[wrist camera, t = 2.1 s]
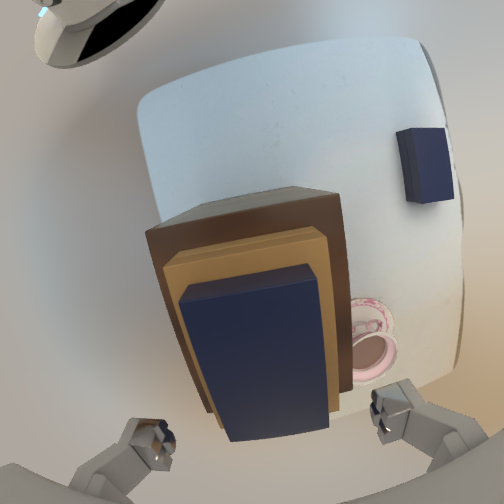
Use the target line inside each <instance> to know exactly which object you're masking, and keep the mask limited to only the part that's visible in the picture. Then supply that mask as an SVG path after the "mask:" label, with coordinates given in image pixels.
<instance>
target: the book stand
mask: <svg viewBox="0 0 504 504" xmlns="http://www.w3.org/2000/svg"><path fill="white" fill-rule="evenodd" d="M310 226H313V227H315V228H316V229H317V230H318V231H320V232H321V233H322V234H324V235H325V236H326V237H327V243H328V251H329V259H330V268H331V277H332V287H333V297H334V308H335V321H336V335H337V352H338V376H339V393H343V392H347V391H351V390H353V337H352V312H351V295H350V282H349V270H348V259H347V249H346V240H345V232H344V224H343V216H342V209H341V202H340V196H339V194H338V193H333V192H327V191H321V190H315V189H309V188H303V187H296V186H291V187H285V188H279V189H274V190H268V191H263V192H258V193H252V194H247V195H242V196H237V197H232V198H227V199H223V200H218V201H213V202H209V203H204V204H201V205H199V206H197V207H194V208H192V209H190V210H188V211H186V212H184V213H182V214H180V215H178V216H175V217H173V218H171V219H169V220H167V221H165V222H163V223H161V224H159V225H157V226H155V227H153V228H151V229H149V230H147V231H146V232H145V235H146V238H147V242H148V246H149V250H150V254H151V257H152V261H153V265H154V268H155V271H156V275H157V278H158V281H159V285H160V288H161V291H162V295H163V298H164V301H165V304H166V307H167V310H168V313H169V316H170V319H171V322H172V325H173V328H174V331H175V334H176V337H177V339H178V342H179V345H180V347H181V350H182V353H183V355H184V358H185V361H186V363H187V366H188V368H189V371H190V374H191V376H192V378H193V381H194V383H195V386H196V388H197V390H198V393H199V395H200V398H201V400H202V402H203V405H204V407H205V409H206V411H207V413H214V412H213V410H212V407H211V405H210V403H209V400H208V398H207V395H206V393H205V390H204V388H203V385H202V383H201V380H200V378H199V375H198V373H197V370H196V367H195V365H194V362H193V359H192V357H191V354H190V351H189V348H188V346H187V343H186V340H185V337H184V334H183V331H182V328H181V325H180V322H179V319H178V316H177V313H176V310H175V307H174V304H173V301H172V297H171V294H170V291H169V288H168V284H167V281H166V277H165V274H164V270H163V267H164V266H165V265H166V264H167V263H168V262H169V261H170V260H171V259H172V258H173V257H174V256H175V255H176V254H177V253H178V252H179V251H184V250H189V249H194V248H199V247H204V246H209V245H214V244H220V243H225V242H230V241H235V240H240V239H245V238H251V237H256V236H261V235H266V234H272V233H277V232H282V231H288V230H293V229H299V228H304V227H310Z"/></svg>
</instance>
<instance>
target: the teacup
mask: <svg viewBox="0 0 504 504" xmlns="http://www.w3.org/2000/svg"><path fill="white" fill-rule="evenodd" d="M351 312H352V337H353V385H356V386H363V385H368V384H371V383H373V382H375V381H377V380H379V379H380V378H381V377H383V376H384V375H385V374H386V373H387V372H388V371H389V369H390V368H391V367H392V365H393V364H394V362H395V360H396V357H397V354H398V343H397V340H396V339H395V337H394V336H393V331H394V322H393V317H392V315H391V313H390V311H389V309H388V308H387V307H386V306H385V305H383V304H382V303H381V302H380V301H377V300H373V299H370V298H362V299H354V300H351Z"/></svg>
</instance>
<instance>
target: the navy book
mask: <svg viewBox="0 0 504 504" xmlns="http://www.w3.org/2000/svg"><path fill="white" fill-rule="evenodd" d="M178 305H179V308H180V311H181V314H182V317H183V320H184V324H185V327H186V330H187V333H188V336H189V338H190V341H191V344H192V347H193V350H194V353H195V356H196V358H197V361H198V364H199V367H200V369H201V372H202V375H203V377H204V380H205V382H206V385H207V388H208V390H209V393H210V395H211V398H212V400H213V403H214V405H215V408H216V410H217V412H218V415H219V417H220V419H221V422H222V424H223V426H224V429H225V431H226V433H227V435H228V438H229V440H230V442H238V441H249V440H258V439H267V438H275V437H282V436H288V435H295V434H300V433H306V432H311V431H315V430H320V429H325V428H329V407H328V388H327V372H326V358H325V346H324V335H323V324H322V314H321V305H320V296H319V288H318V279H317V277H316V275H315V274H314V272H313V271H312V269H311V267H310V266H309V264H308V263H305V264H300V265H295V266H289V267H284V268H279V269H274V270H268V271H263V272H257V273H252V274H246V275H241V276H235V277H230V278H224V279H218V280H213V281H207V282H201V283H195V284H190V285H188V286H187V288H186V290H185V291H184V293H183V295H182V296H181V298H180V300H179V301H178Z"/></svg>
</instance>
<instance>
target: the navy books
mask: <svg viewBox="0 0 504 504" xmlns="http://www.w3.org/2000/svg"><path fill="white" fill-rule="evenodd" d="M396 135H397V140H398V145H399V151H400V157H401V163H402V169H403V176H404V184H405V192H406V200H407V201H411V202H416V203H421V204H424V203H431V202H437V201H444V200H450V199H454V190H453V180H452V172H451V164H450V157H449V151H448V145H447V139H446V134H445V129H444V128H409V129H406V130H402V131H399V132H396Z"/></svg>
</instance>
